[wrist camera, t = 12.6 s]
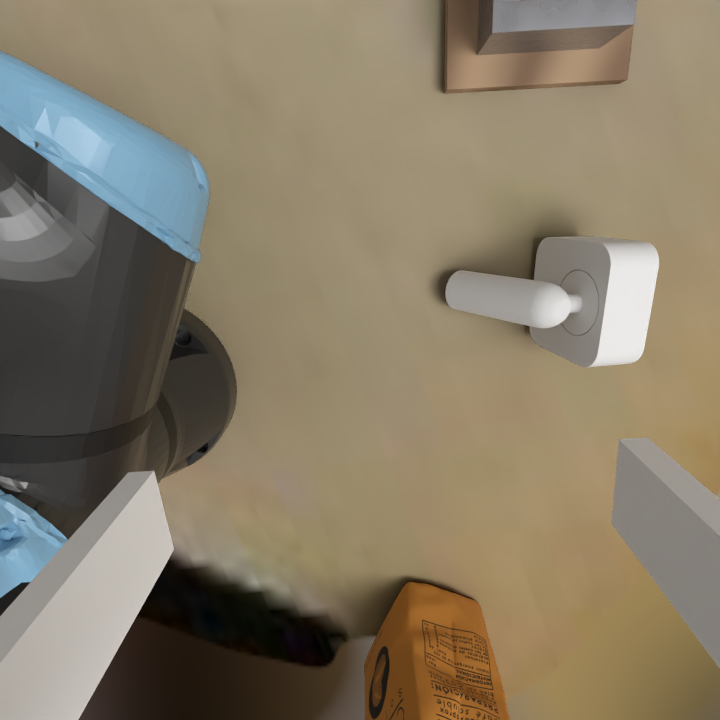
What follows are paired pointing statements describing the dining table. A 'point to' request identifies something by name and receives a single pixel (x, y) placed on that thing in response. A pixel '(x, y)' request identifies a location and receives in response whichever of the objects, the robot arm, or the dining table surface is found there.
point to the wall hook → (573, 298)
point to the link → (550, 24)
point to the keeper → (524, 60)
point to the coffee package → (433, 661)
